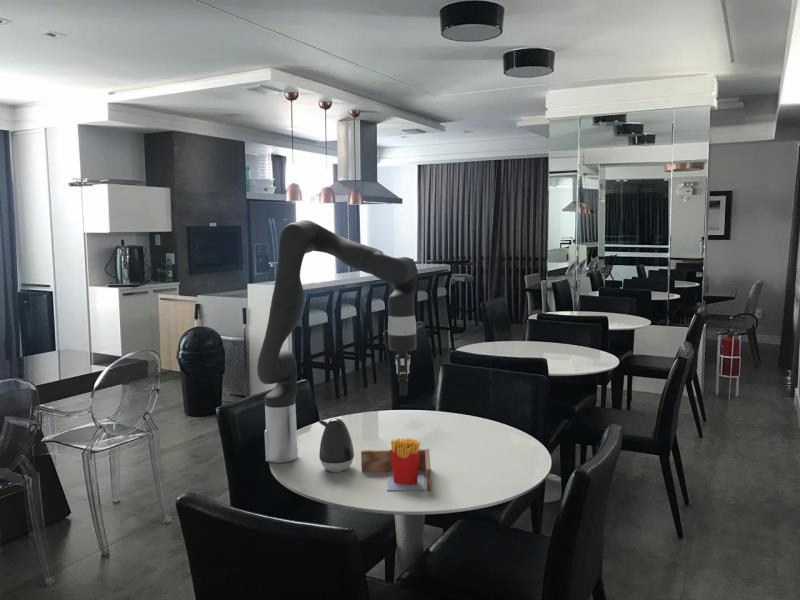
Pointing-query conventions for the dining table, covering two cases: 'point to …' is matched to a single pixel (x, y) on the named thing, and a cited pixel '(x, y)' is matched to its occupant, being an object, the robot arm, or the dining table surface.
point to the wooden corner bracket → (382, 462)
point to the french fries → (405, 460)
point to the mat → (401, 487)
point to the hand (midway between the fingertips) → (403, 391)
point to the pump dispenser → (336, 446)
